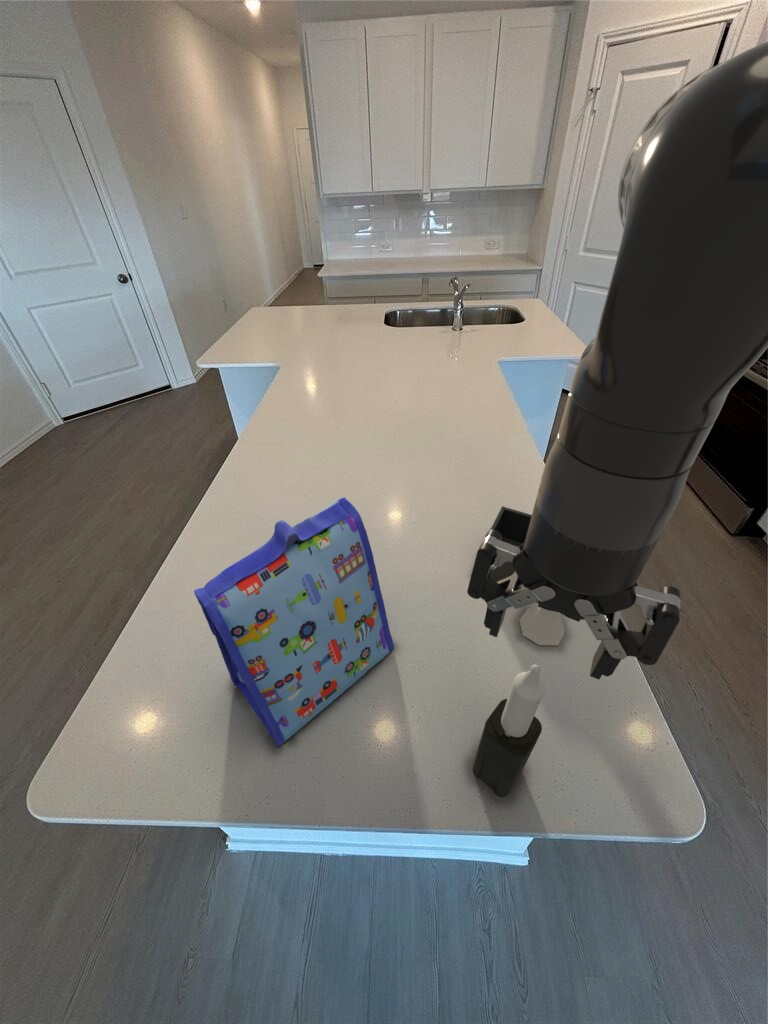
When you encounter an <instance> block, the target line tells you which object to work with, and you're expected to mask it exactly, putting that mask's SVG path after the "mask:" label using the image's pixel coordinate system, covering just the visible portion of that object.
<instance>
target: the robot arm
mask: <svg viewBox="0 0 768 1024" xmlns="http://www.w3.org/2000/svg"><path fill="white" fill-rule="evenodd" d="M617 191H618V192H617V208H618V209H617V210H618V215H619V219H620V223H621V226H622V229H623V231H622V235H621V240H620V243H619V249H618V253H617V257H616V260H615V265H614V269H613V272H612V276H611V280H610V283H609V287H608V290H607V294H606V297H605V300H604V305H603V308H602V311H601V315H600V319H599V323H598V327H597V330H596V333H595V334H596V335H595V336H594V338H592V339H591V340H590V341H589V342H588V344H587V346H586V347H585V348H584V350H583V352H582V354H581V356H580V359H579V361H578V363H577V366H576V368H575V372H574V373H573V377H572V381H571V383H570V387H569V392H568V395H567V399H566V403H565V406H564V410H563V414H562V417H561V421H560V425H559V429H558V432H557V435H556V436H555V437H556V438H555V440H554V443H553V444H552V447H551V448H550V449H551V450H550V451H549V454H548V456H547V458H546V461H545V463H544V467H543V471H542V474H541V478H540V483H539V487H538V491H537V495H536V498H535V502H534V506H533V509H532V513H531V515H532V517H531V521H530V524H529V528H528V532H527V536H526V540H525V543H524V544H522V545H521V546H519V547H517V546H514V545H511V544H509V543H506V542H503V541H501V539H502V535H501V534H500V532H498V531H496V530H490V529H489V530H488V531H487V532H486V534H485V536H484V538H483V539H482V542H481V544H480V546H479V548H478V550H477V552H476V555H475V559H474V564H473V567H472V570H471V574H470V579H469V583H468V587H467V590H466V592H467V595H468V596H469V597H470V598H472V599H475V600H479V599H482V600H483V601H484V602H485V603H486V611H485V616H484V620H483V624H484V627H485V629H489V632H488V635H489V636H492V637H494V638H497V639H498V635H499V634H500V630H501V628H502V626H503V622H504V619H505V617H506V611H507V609H509V608H513V609H515V610H517V609H521V608H523V607H527V606H529V605H533V604H535V603H538V607H540V608H543V609H546V610H549V611H555V612H559V613H561V614H562V615H563V616H564V617H566V618H567V619H569V620H570V619H571V620H573V621H576V622H578V623H579V622H580V621H581V620H582V621H585V622H586V625H587V626H588V628H589V629H590V631H591V633H592V635H593V636H594V638H595V639H596V641H600V643H599V645H598V647H597V649H596V650H595V653H594V655H593V658H592V662H591V667H590V671H589V677H591V678H593V679H596V680H601V678H602V676H604V677H607V678H608V677H610V676H612V675H613V674H614V672H615V671H616V669H617V667H618V666H619V664H620V663H621V661H622V660H624V659H626V658H627V657H633V658H636V659H637V660H638V662H640V663H641V664H642V665H647V666H654V665H656V664H657V663H658V660H659V659H660V657H661V655H662V653H663V652H664V649H665V648H666V646H667V645H668V643H669V641H670V639H671V637H672V635H673V633H674V632H675V630H676V628H677V626H678V625H679V623H680V620H681V597H682V596H681V594H682V593H681V591H680V589H679V588H677V587H675V586H672V585H666V586H663V587H661V588H660V589H659V591H657V590H654V589H650V588H647V587H643V586H639V585H638V579H639V577H640V575H641V573H642V572H643V570H644V568H645V566H646V564H647V562H648V560H649V558H650V557H651V555H652V554H653V551H654V550H655V548H656V547H657V546H656V545H658V542H659V540H660V539H661V536H662V535H663V533H664V531H665V529H666V527H667V525H668V523H669V521H670V520H671V518H672V516H673V514H674V512H675V511H676V508H677V506H678V504H679V502H680V500H681V498H682V495H683V492H684V490H685V487H686V483H687V481H688V477H689V474H690V471H691V470H692V467H693V465H694V463H695V461H696V459H697V457H698V455H699V453H700V451H701V450H702V448H703V446H704V444H705V442H706V440H707V438H708V436H709V435H710V433H711V431H712V429H713V427H714V424H715V423H716V420H717V419H718V417H719V415H720V413H721V411H722V408H723V406H724V404H725V402H726V400H727V398H728V395H729V393H730V391H731V389H732V388H733V387H734V386H735V385H736V384H737V382H739V380H740V379H741V378H742V377H743V376H744V375H745V373H747V372H748V371H749V369H750V368H752V366H753V365H754V364H755V363H756V362H757V361H758V360H759V359H760V358H761V356H762V355H763V354H764V353H765V352H766V350H767V349H768V41H767V42H764V43H761V44H758V45H755V46H753V47H751V48H749V49H747V50H745V51H743V52H741V53H739V54H736V55H735V56H733V57H731V58H728V59H727V60H724V61H721V62H719V63H718V64H716V65H714V66H711V67H709V68H707V69H706V70H704V71H702V72H700V73H699V74H697V75H695V76H694V77H693V78H691V79H690V80H688V81H687V82H685V83H684V84H683V85H681V86H680V87H679V88H678V89H677V90H675V91H674V92H673V93H672V94H671V95H669V97H668V98H667V99H666V100H664V101H663V103H661V105H660V106H658V108H657V109H656V110H655V111H654V112H653V114H652V115H651V116H650V117H649V119H647V121H646V123H645V124H644V125H643V127H642V128H641V130H640V131H639V133H638V135H637V136H636V138H635V140H634V141H633V143H632V145H631V147H630V150H629V152H628V153H627V155H626V158H625V161H624V164H623V167H622V169H621V173H620V177H619V184H618V190H617ZM505 562H512V565H513V568H514V570H515V572H514V573H513V575H511V576H510V577H507V578H505V579H503V580H500V581H498V582H496V581H494V580H492V579H491V578H490V575H491V572H492V570H495V569H496V567H501V566H502V565H503V563H505ZM634 605H635V606H637V607H638V608H639V609H640V615H641V617H642V618H643V619H644V622H643V625H642V627H641V629H640V631H635V630H631V629H630V628H629V626H628V624H627V622H626V620H625V619H624V617H623V615H622V611H624V610H627V609H630V608H632V606H634Z"/></svg>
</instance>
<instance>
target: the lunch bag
mask: <svg viewBox="0 0 768 1024" xmlns="http://www.w3.org/2000/svg"><path fill="white" fill-rule="evenodd" d="M366 529H367V528H366V527H365V525H364V521H363V519H362V516H361V515H360V513H359V511H358V510H357V508H356V507H355V506H354V504H353V503H351V502H350V501H349V500H348V499H347V498H346V497H341V498H339V499H337V500H335V501H334V502H332V503H331V504H329V505H328V506H326V507H325V508H324V509H322V510H320V511H318V512H316V513H315V514H314V515H312V516H309V517H308V518H305V519H304V520H302V521H301V522H299V523H297V524H295V525H293V526H291V525H290V524H289V523H287V522H286V521H285V520H284V519H283V520H282V519H280V520H278V521H277V522H276V523H275V525H274V532H273V534H272V536H271V537H270V539H268V540H267V542H265V544H263V545H262V546H260V547H258V548H257V549H256V550H254V551H252V552H250V553H249V554H248V555H246V556H245V557H243V558H241V559H240V560H238V561H236V562H234V563H233V564H231V565H230V566H228V567H226V568H225V569H224V570H222V571H221V572H220V573H218V574H217V575H215V576H214V577H213V578H212V579H210V580H209V581H208V582H206V583H205V584H204V586H202V587H200V588H196V589H194V590H193V593H194V596H195V598H196V599H197V602H198V604H199V606H200V607H201V610H202V612H203V614H204V618H205V620H206V621H207V624H208V626H209V629H210V631H211V633H212V635H213V636H214V637H215V639H216V643H217V646H218V649H219V650H220V653H221V655H222V658H223V661H224V663H225V666H226V669H227V672H228V674H229V676H230V681H231V682H232V684H233V685H234V686H236V687H237V688H238V689H239V690H240V691H241V693H242V695H243V696H244V698H245V699H246V700H247V702H248V703H249V705H250V707H251V709H252V710H253V711H254V713H255V715H256V716H257V717H258V718H259V720H260V721H261V723H262V724H263V725H264V727H265V728H266V730H267V731H268V732H269V735H270V736H271V738H272V739H273V741H274V742H275V746H276V747H280V746H281V745H283V744H284V743H285V742H287V740H288V739H290V738H292V736H293V735H295V734H296V733H297V732H298V731H299V730H301V729H302V728H303V727H304V726H305V725H307V724H308V723H309V722H310V721H311V720H312V719H313V718H315V717H316V716H317V715H318V714H319V713H321V712H322V711H323V710H324V709H325V708H327V707H328V706H329V705H330V704H331V703H333V701H335V700H336V699H337V698H338V697H339V696H341V695H342V694H343V693H344V692H345V691H347V690H348V689H350V687H352V686H353V684H355V683H356V682H358V680H359V679H361V678H362V677H363V676H364V675H366V674H367V672H368V671H369V670H371V669H372V668H373V667H374V666H376V665H377V664H378V663H379V662H381V661H382V660H383V659H384V658H385V657H386V656H387V655H389V653H391V652H392V651H394V649H395V645H394V644H395V643H394V640H393V637H392V634H391V631H390V626H389V621H388V616H387V612H386V606H385V603H384V602H385V601H384V598H383V594H382V590H381V586H380V581H379V576H378V572H377V567H376V563H375V559H374V558H375V557H374V555H373V554H374V553H373V551H372V547H371V542H370V540H369V536H368V532H367V530H366Z"/></svg>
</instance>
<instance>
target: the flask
mask: <svg viewBox="0 0 768 1024" xmlns="http://www.w3.org/2000/svg"><path fill="white" fill-rule="evenodd" d="M562 615H563V614H561V613H559V612H555V611H549V610H546V609H543V608H540V607H538V603H536V602H535V603H532V604H531V606H529V607H528V608H527V609H526V610H525V612H524V613H523V615H522V616H521V617H520V619H519V620H518V621H519V625H520V630H521V634H522V636H523V637H524V638H526V639H528V640H530V641H531V642H533V643H535V644H537V645H538V646H553V647H554V646H555V647H556V646H559V645H560V642H561V640H562V639H563V637H564V636H565V634H566V632H565V625H564V621H563V616H562Z"/></svg>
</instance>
